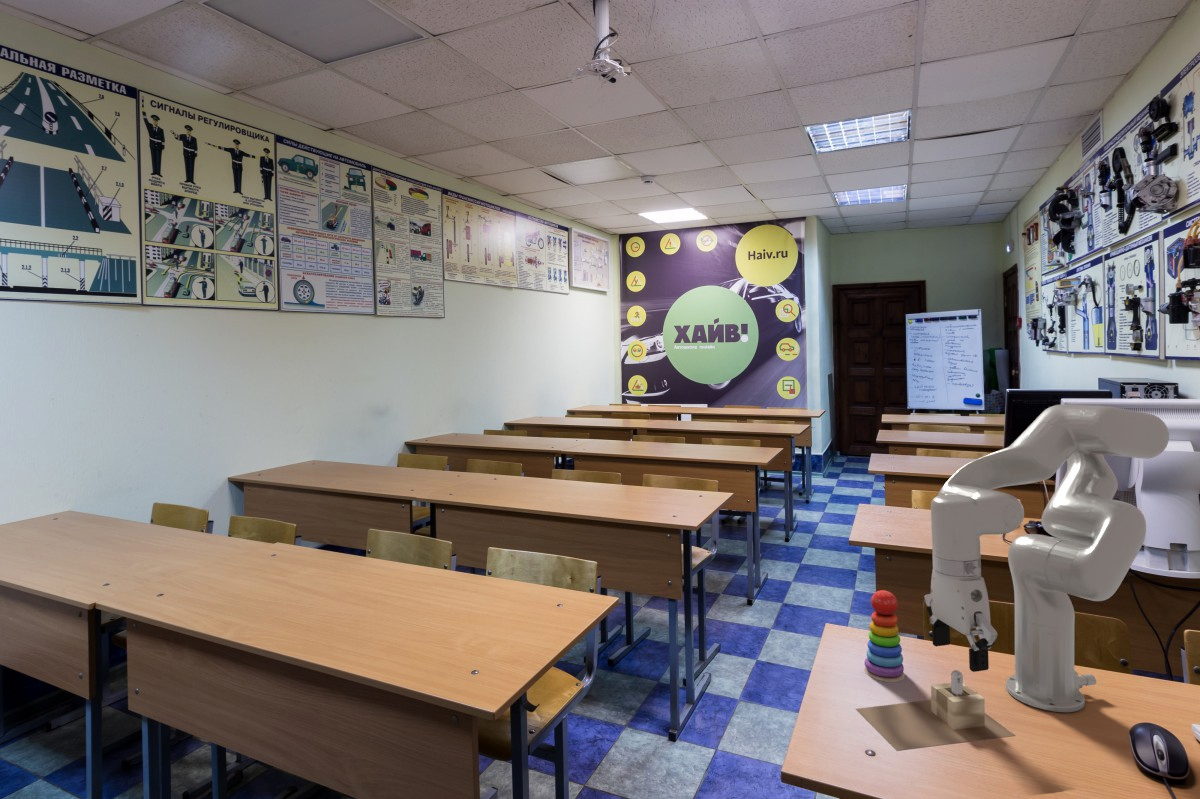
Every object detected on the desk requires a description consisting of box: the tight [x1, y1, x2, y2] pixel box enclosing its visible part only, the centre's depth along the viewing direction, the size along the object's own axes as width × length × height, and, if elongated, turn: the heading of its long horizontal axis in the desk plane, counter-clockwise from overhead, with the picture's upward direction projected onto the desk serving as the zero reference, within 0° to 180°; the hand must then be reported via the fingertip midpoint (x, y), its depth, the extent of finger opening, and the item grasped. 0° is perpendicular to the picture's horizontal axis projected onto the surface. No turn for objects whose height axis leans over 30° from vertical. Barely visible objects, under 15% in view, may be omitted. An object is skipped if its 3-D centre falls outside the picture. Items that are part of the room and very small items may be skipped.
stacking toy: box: [863, 589, 906, 683], centre depth 131 cm, size 8×8×19 cm
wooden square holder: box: [930, 682, 986, 730], centre depth 113 cm, size 6×6×5 cm
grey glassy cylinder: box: [950, 669, 964, 697], centre depth 113 cm, size 2×2×9 cm
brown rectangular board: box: [855, 699, 1016, 752], centre depth 113 cm, size 22×13×2 cm, turn 97°
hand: (959, 657), depth 113 cm, fingers open, 9 cm apart
